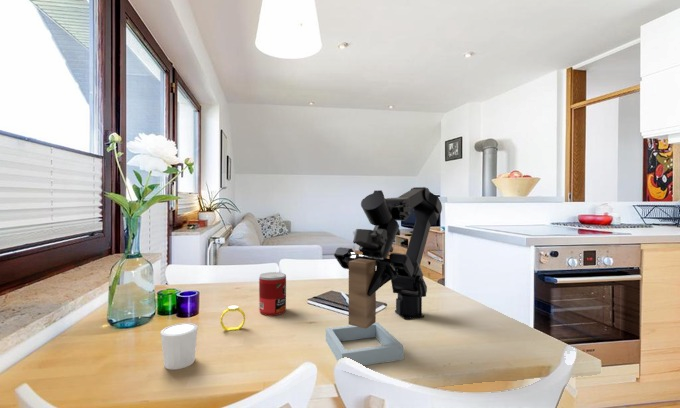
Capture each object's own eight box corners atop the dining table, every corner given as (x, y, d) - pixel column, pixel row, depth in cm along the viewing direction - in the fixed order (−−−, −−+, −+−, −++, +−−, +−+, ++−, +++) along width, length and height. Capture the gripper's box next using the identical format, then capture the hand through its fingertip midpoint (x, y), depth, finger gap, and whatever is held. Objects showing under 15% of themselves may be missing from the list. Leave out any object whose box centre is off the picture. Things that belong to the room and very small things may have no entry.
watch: (244, 327, 87) (246, 305, 87) (244, 331, 84) (246, 308, 84) (220, 328, 85) (222, 305, 85) (219, 332, 82) (221, 308, 82)
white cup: (169, 355, 71) (169, 322, 70) (202, 354, 71) (202, 321, 71) (154, 372, 64) (154, 336, 64) (190, 370, 64) (190, 335, 64)
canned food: (280, 316, 94) (280, 278, 94) (254, 314, 95) (254, 277, 95) (289, 308, 101) (289, 272, 101) (265, 306, 103) (265, 271, 103)
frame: (378, 334, 82) (378, 322, 82) (403, 359, 69) (403, 345, 69) (325, 340, 78) (325, 328, 78) (342, 368, 65) (342, 353, 65)
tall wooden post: (358, 318, 76) (359, 258, 76) (375, 322, 74) (375, 260, 74) (348, 324, 73) (348, 261, 73) (365, 328, 70) (365, 263, 70)
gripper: (338, 214, 81) (309, 266, 73) (408, 217, 71) (385, 278, 62) (354, 242, 88) (330, 293, 79) (422, 249, 78) (402, 308, 69)
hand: (359, 293), depth 72 cm, fingers closed on tall wooden post, 4 cm apart
